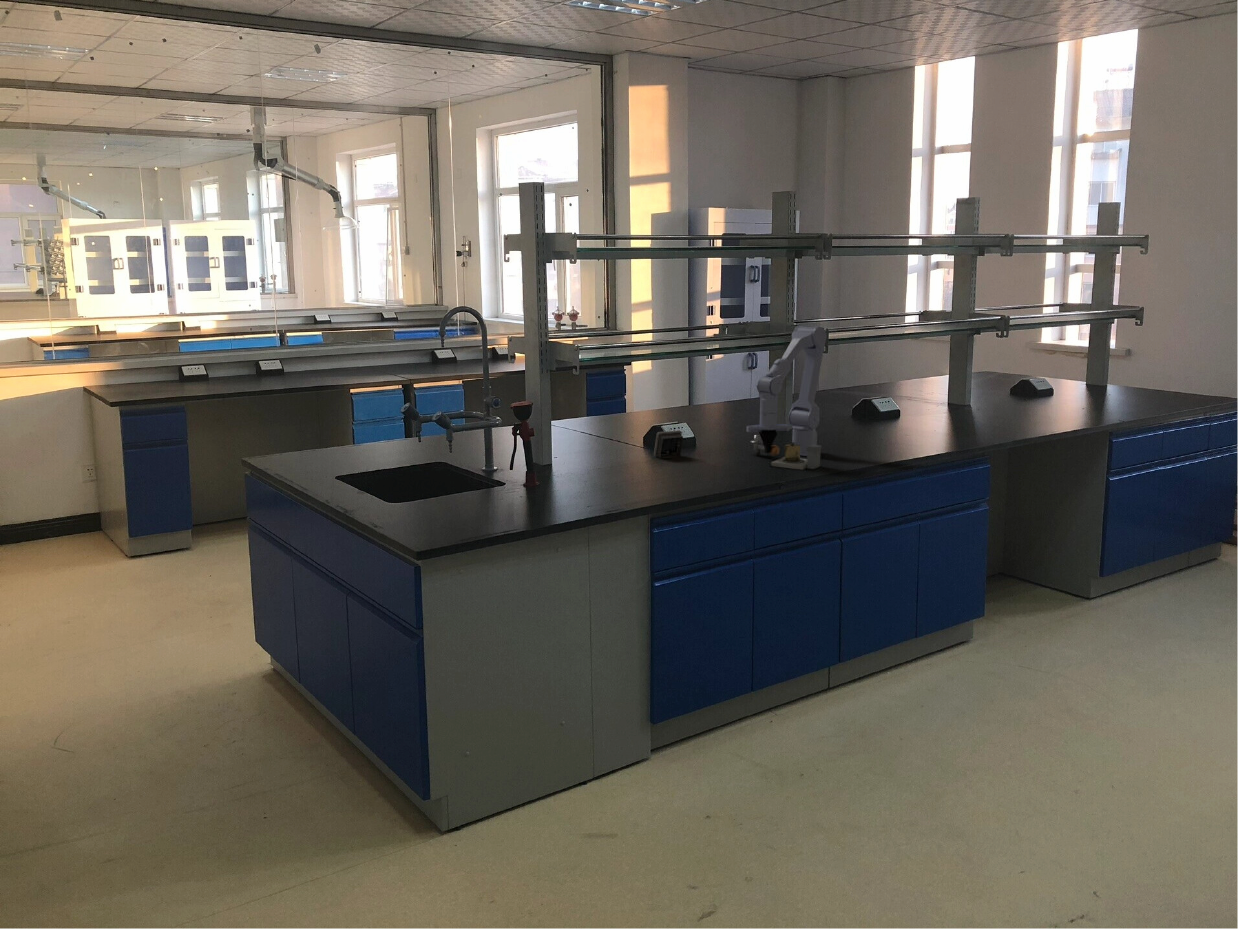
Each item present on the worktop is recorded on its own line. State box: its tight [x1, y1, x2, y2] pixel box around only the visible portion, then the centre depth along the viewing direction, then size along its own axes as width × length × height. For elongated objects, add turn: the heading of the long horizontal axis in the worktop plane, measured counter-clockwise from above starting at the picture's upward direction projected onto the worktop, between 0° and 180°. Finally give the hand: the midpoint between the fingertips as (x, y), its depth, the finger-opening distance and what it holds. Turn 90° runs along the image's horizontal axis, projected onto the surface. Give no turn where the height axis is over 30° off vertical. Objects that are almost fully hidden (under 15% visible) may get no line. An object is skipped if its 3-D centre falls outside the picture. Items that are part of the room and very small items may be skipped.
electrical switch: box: [653, 429, 684, 459], centre depth 348 cm, size 9×5×9 cm, turn 113°
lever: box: [758, 444, 781, 457], centre depth 345 cm, size 10×4×4 cm, turn 26°
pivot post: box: [749, 434, 763, 457], centre depth 351 cm, size 5×5×7 cm
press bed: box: [770, 444, 822, 471], centre depth 335 cm, size 11×14×7 cm
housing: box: [784, 441, 801, 462], centre depth 336 cm, size 5×5×6 cm
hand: (767, 452), depth 341 cm, fingers closed
